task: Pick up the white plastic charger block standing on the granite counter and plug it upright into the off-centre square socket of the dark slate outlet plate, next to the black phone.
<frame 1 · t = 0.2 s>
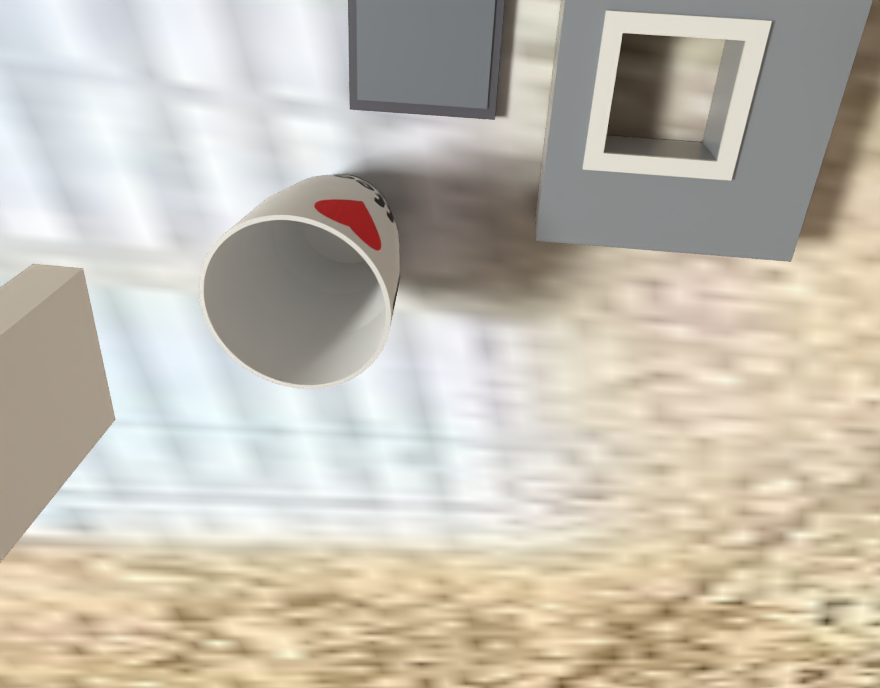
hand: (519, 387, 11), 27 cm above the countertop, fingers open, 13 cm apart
cup: (345, 219, 40), on the countertop
outlet plate: (691, 39, 33), on the countertop
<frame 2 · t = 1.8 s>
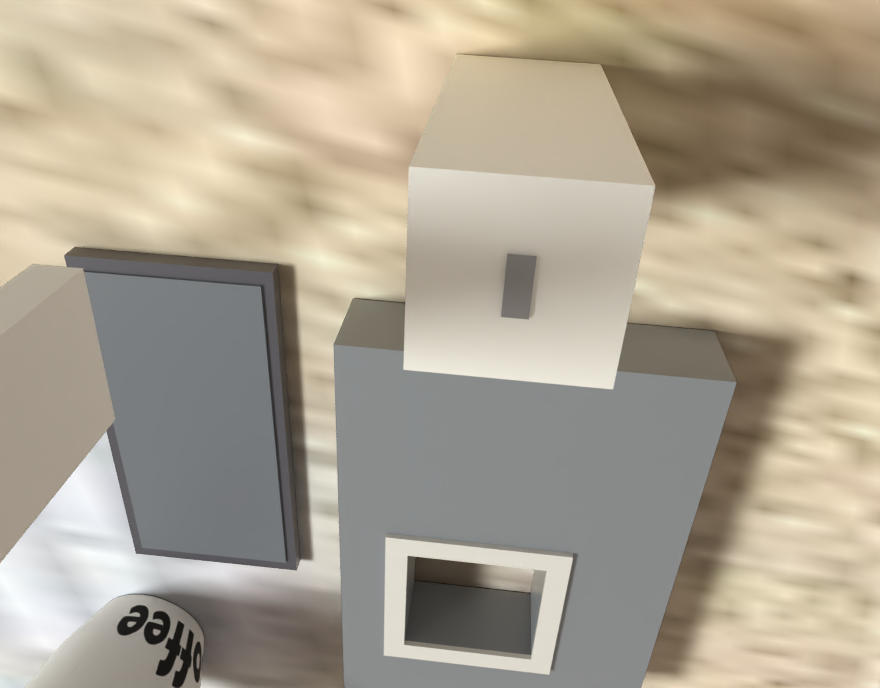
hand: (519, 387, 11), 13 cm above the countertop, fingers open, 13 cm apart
phone: (206, 413, 29), on the countertop
cup: (153, 626, 36), on the countertop
outlet plate: (505, 512, 29), on the countertop
charger: (520, 131, 22), on the countertop
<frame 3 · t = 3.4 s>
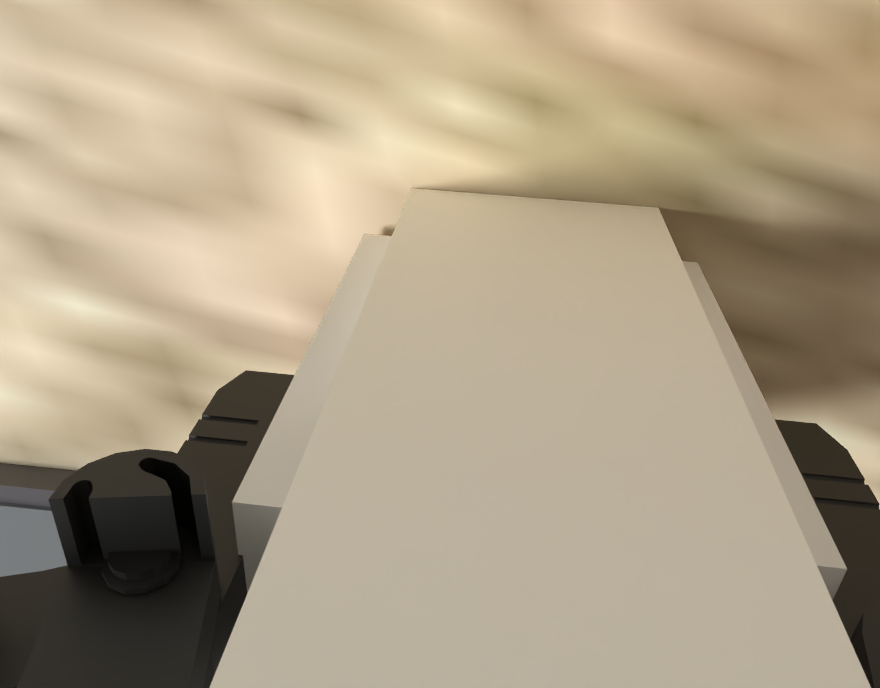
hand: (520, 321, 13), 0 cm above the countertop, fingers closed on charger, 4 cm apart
phone: (72, 647, 20), on the countertop
charger: (520, 306, 13), on the countertop, touching gripper
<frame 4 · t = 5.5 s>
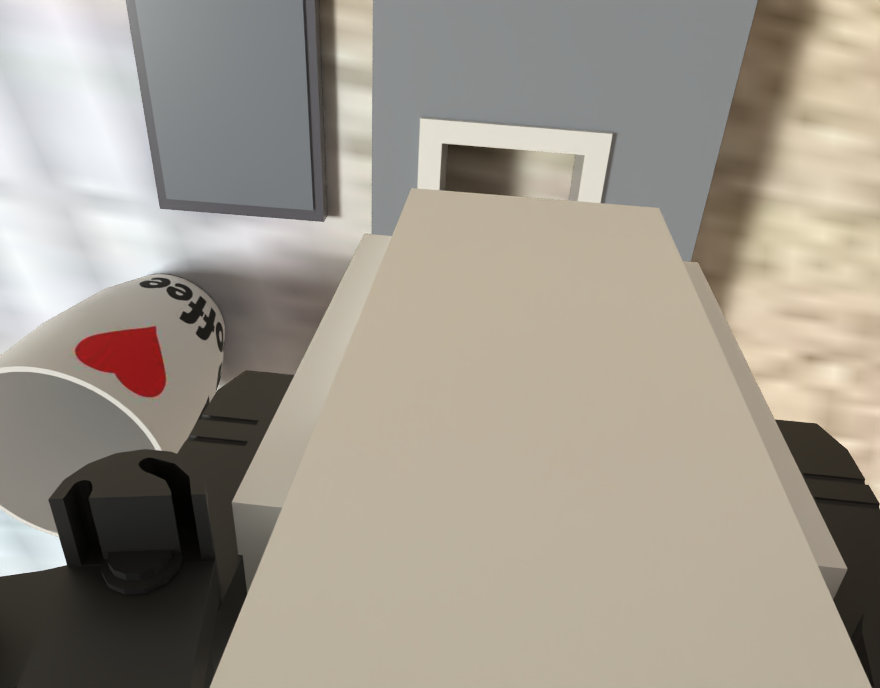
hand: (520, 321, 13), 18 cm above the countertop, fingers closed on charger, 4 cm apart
phone: (233, 31, 28), on the countertop
cup: (173, 320, 35), on the countertop
outlet plate: (538, 139, 29), on the countertop
charger: (521, 306, 13), point 17 cm above the countertop, touching gripper
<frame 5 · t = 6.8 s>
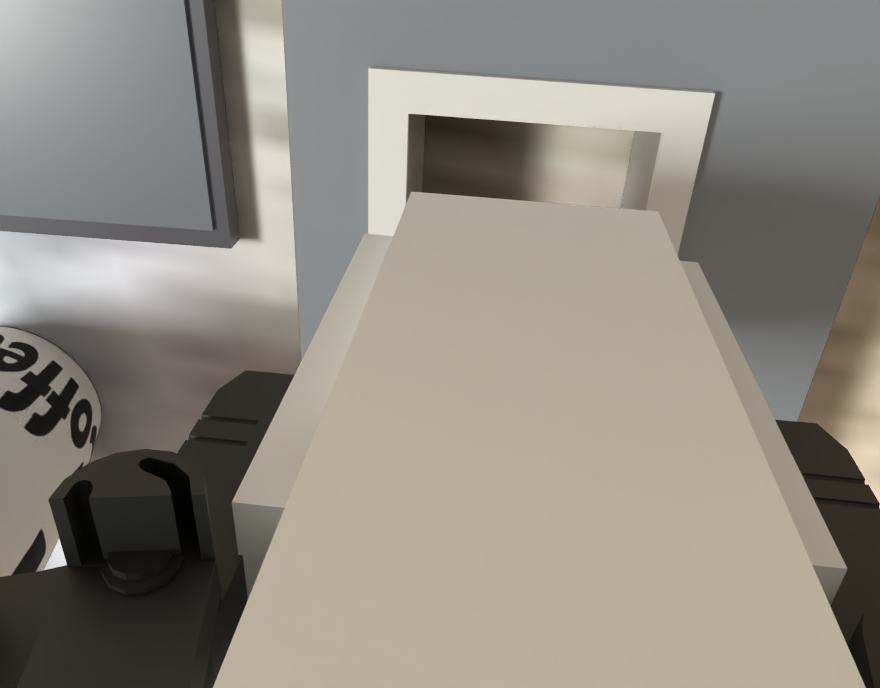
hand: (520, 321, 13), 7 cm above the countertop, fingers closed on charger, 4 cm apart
cup: (26, 392, 24), on the countertop
outlet plate: (573, 113, 17), on the countertop
charger: (520, 310, 13), point 6 cm above the countertop, touching gripper
when the fingers open (4 cm above the countertop, at t = 7.6 s): charger drops 3 cm, resting in outlet plate.
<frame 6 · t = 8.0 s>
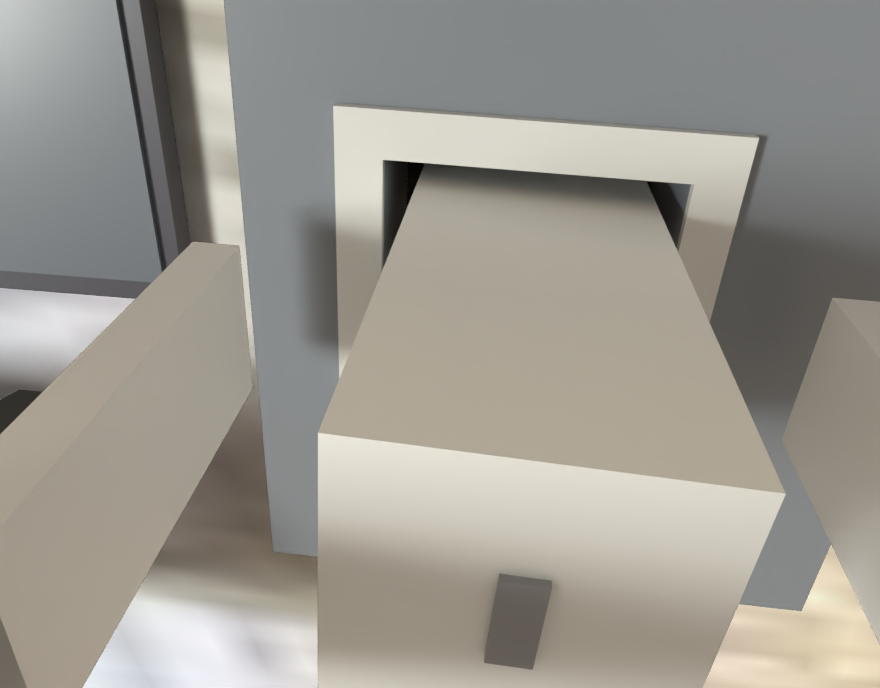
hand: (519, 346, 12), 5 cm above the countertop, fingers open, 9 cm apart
outlet plate: (581, 151, 15), on the countertop
charger: (521, 236, 16), resting in outlet plate
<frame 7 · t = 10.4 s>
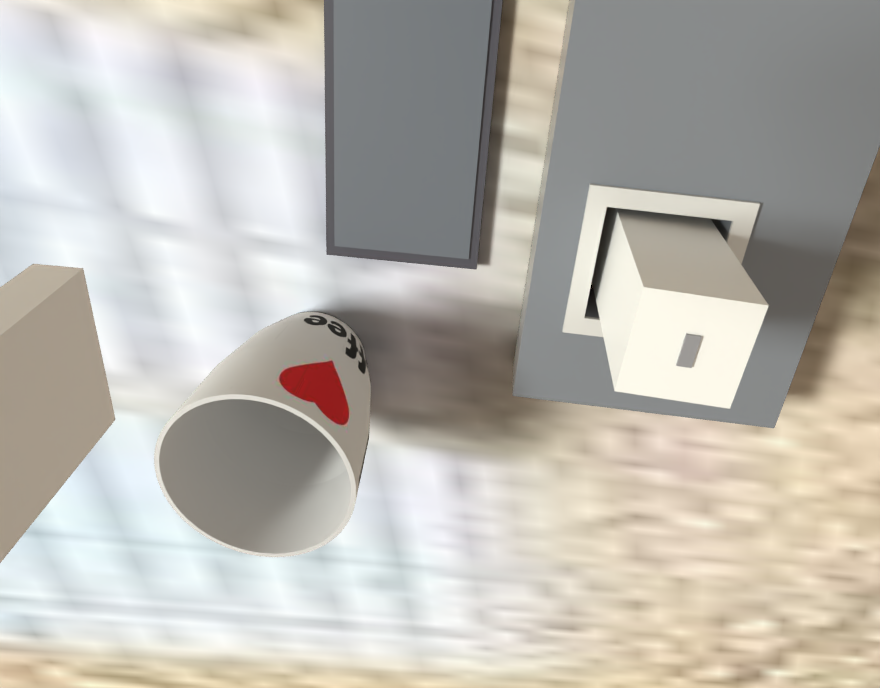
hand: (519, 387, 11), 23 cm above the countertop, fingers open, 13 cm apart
phone: (411, 100, 32), on the countertop
cup: (317, 354, 38), on the countertop
outlet plate: (677, 203, 32), on the countertop
charger: (644, 242, 33), resting in outlet plate
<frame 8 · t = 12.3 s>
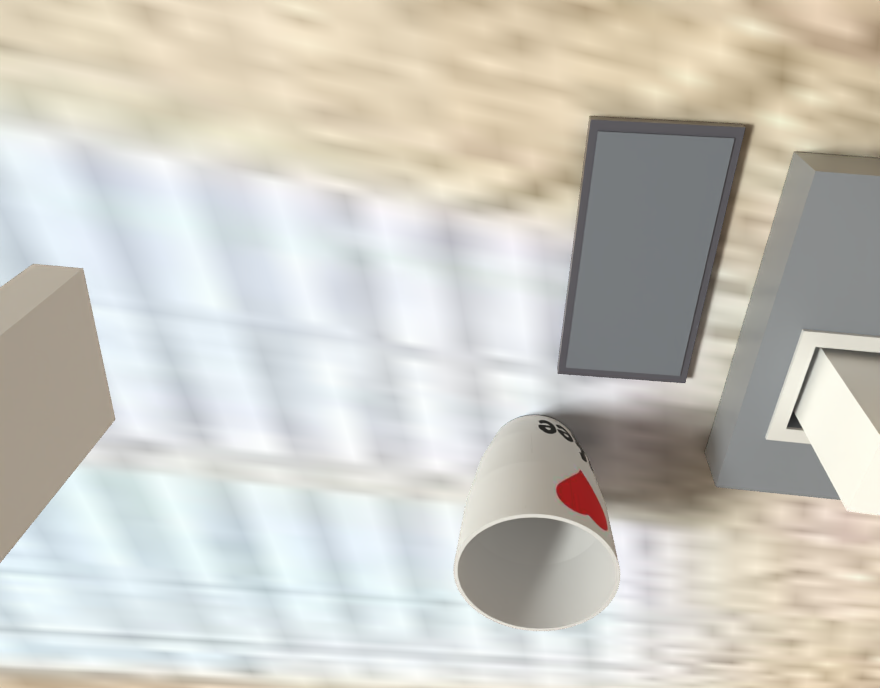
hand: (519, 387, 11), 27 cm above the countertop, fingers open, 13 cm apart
phone: (638, 253, 39), on the countertop
cup: (533, 446, 45), on the countertop
outlet plate: (860, 330, 39), on the countertop
charger: (828, 359, 40), resting in outlet plate
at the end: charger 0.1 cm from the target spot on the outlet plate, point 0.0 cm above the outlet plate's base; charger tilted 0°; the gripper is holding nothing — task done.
